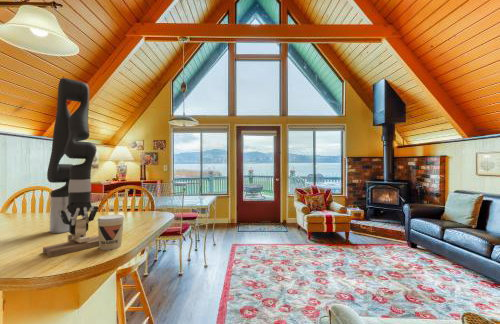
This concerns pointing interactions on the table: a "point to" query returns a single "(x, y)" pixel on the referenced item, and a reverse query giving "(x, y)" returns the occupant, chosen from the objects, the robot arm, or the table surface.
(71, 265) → the table surface
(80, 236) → the beige stepped block
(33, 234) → the table surface
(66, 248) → the board
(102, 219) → the coffee cup
